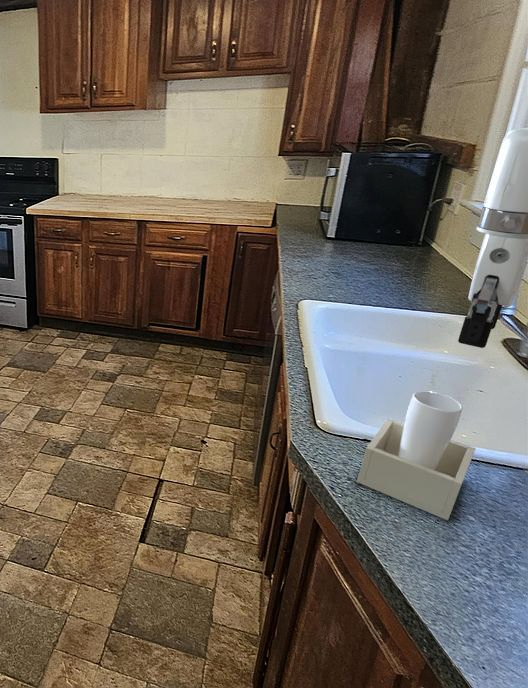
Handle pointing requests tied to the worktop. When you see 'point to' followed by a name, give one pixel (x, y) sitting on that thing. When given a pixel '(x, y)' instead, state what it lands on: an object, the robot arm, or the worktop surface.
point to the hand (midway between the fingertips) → (476, 335)
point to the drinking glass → (428, 428)
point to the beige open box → (414, 472)
